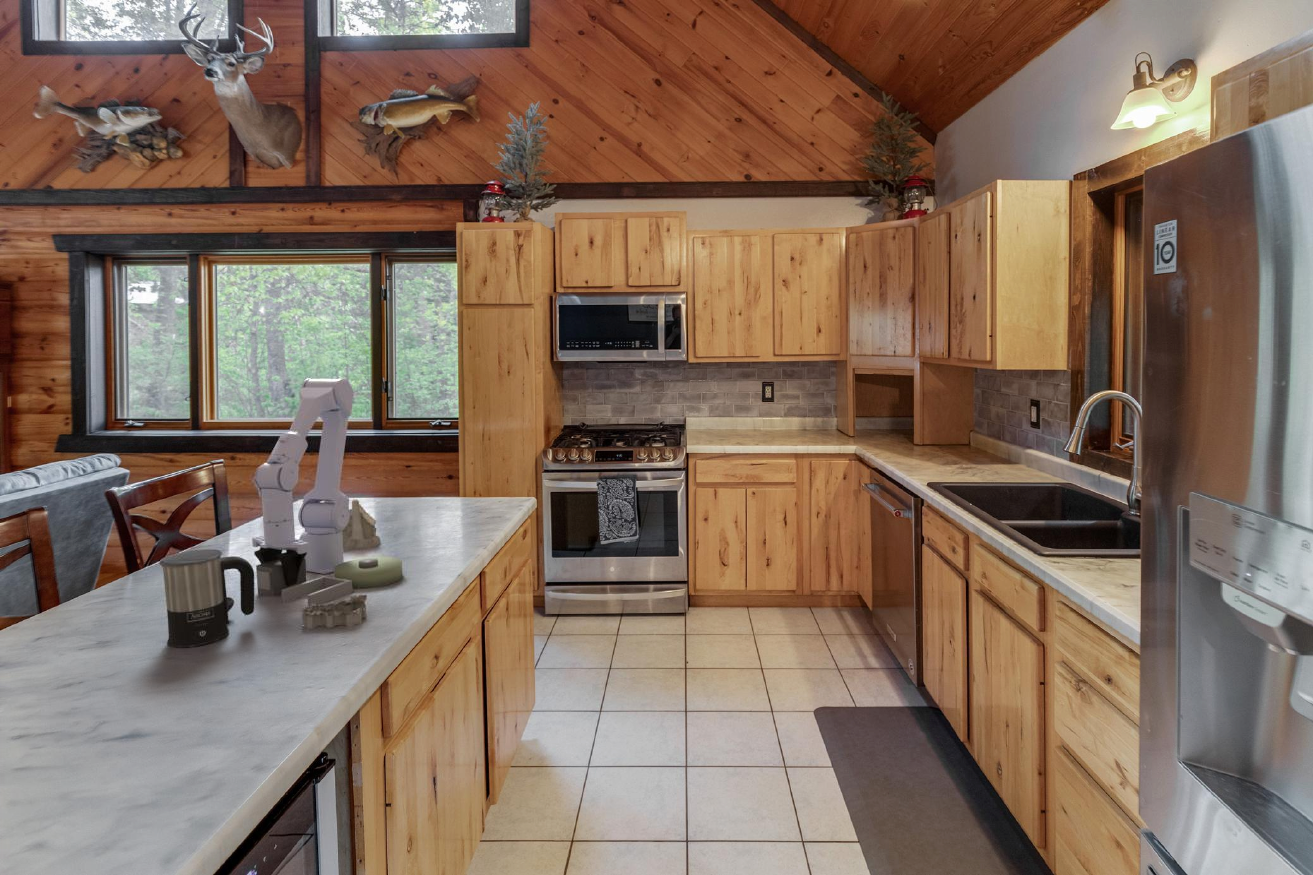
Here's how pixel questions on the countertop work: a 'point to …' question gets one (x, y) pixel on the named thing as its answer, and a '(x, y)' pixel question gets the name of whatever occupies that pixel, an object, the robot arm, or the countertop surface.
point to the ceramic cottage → (359, 529)
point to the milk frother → (202, 595)
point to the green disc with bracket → (347, 579)
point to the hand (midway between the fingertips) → (282, 582)
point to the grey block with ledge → (275, 577)
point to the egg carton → (335, 612)
